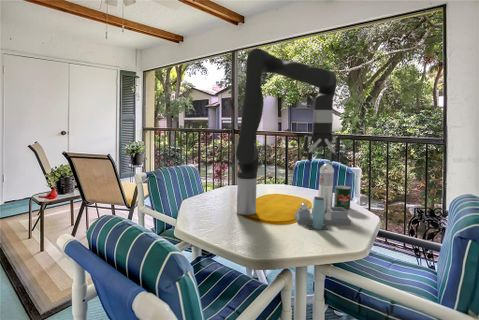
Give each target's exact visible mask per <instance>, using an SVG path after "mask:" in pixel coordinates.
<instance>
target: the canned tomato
mask: <svg viewBox="0 0 479 320" xmlns="http://www.w3.org/2000/svg"><path fill="white" fill-rule="evenodd" d="M351 195H352V187H351V186H349V185H344V184H343V185H341V184H339V185H335V186H334V197H333V198H334V200H333V207H343V208H344V209H345V210H346V211H349V210H350V209H351Z"/></svg>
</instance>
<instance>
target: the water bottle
mask: <svg viewBox="0 0 479 320" xmlns="http://www.w3.org/2000/svg"><path fill="white" fill-rule="evenodd" d="M324 162H325V163H324V164H322V165H321V166H320V168H319V177H318V179H319V180H318V183H319V184H318V195H317V197H324V200H325V201H324V211H325V213H327V207H333V198H334V197H333V195H334V194H333V193H334V176H335V175H334V173H335V169H334V167H333V166H332V164H330V160H325V161H324Z"/></svg>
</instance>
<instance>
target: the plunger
mask: <svg viewBox="0 0 479 320" xmlns="http://www.w3.org/2000/svg"><path fill="white" fill-rule="evenodd" d="M300 208H301V210H307V208H308V203H305V202H301V203H300Z"/></svg>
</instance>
